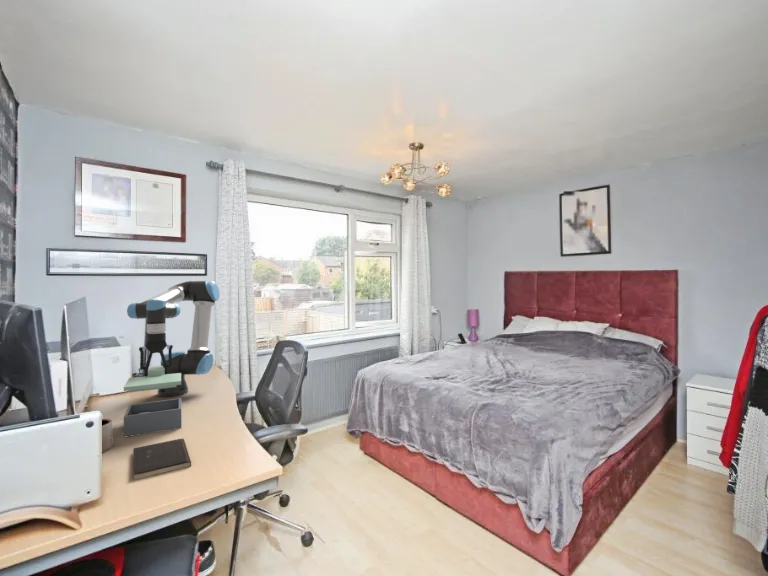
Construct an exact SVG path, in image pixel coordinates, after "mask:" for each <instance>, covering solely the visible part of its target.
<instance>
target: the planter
mask: <svg viewBox="0 0 768 576" xmlns="http://www.w3.org/2000/svg"><path fill="white" fill-rule="evenodd" d="M101 419H102V451H103V452H106V451H108V450H109V449H110V448H111V447H112V446H113V421H112V419H110V418H101ZM107 449H108V450H107ZM105 450H106V451H105ZM103 452H102V453H103Z"/></svg>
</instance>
